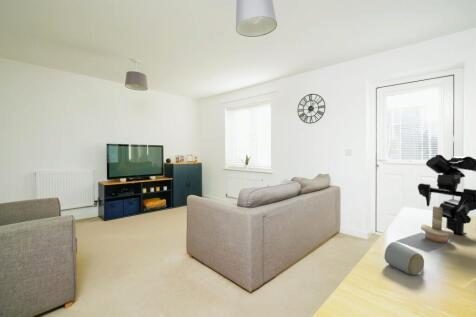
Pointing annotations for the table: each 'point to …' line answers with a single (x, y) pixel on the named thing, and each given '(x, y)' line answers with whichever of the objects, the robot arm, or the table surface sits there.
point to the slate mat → (422, 242)
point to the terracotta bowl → (436, 237)
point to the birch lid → (437, 224)
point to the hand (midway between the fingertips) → (441, 208)
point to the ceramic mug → (404, 258)
